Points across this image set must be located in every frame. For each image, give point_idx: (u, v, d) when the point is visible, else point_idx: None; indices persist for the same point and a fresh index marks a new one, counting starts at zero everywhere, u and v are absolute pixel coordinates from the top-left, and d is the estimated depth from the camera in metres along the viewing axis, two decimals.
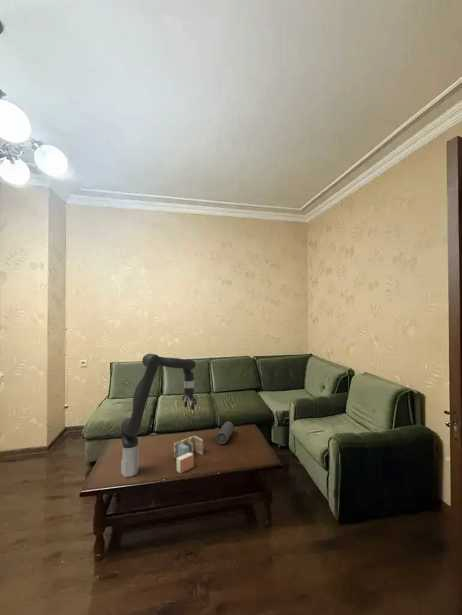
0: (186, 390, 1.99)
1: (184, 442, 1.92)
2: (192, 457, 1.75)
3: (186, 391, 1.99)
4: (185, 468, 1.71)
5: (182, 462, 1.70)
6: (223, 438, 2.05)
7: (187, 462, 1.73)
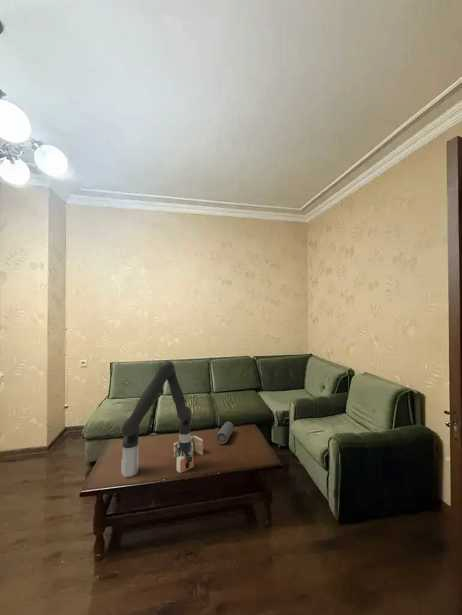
0: (181, 445, 1.71)
1: None
2: (192, 457, 1.75)
3: (181, 446, 1.71)
4: (185, 468, 1.71)
5: (182, 462, 1.70)
6: (223, 438, 2.05)
7: None
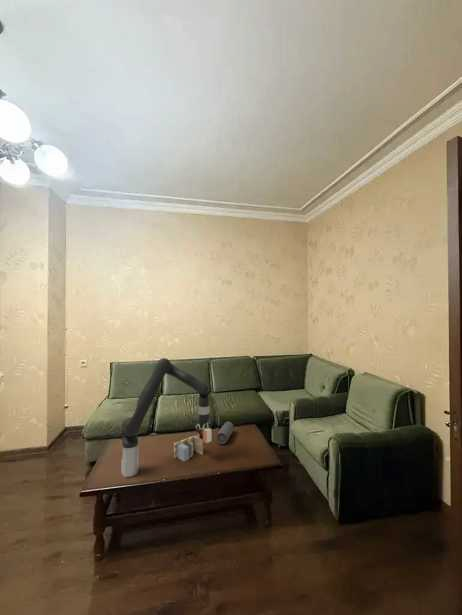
0: None
1: (184, 442, 1.92)
2: (205, 432, 1.80)
3: None
4: None
5: None
6: (223, 438, 2.05)
7: None
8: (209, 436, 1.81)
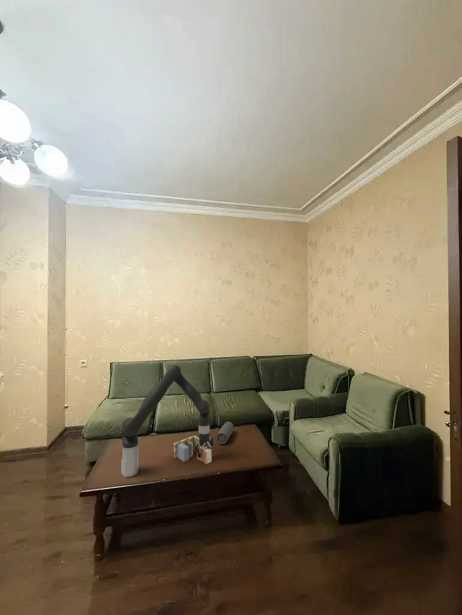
0: None
1: (184, 442, 1.92)
2: (205, 453, 1.80)
3: None
4: (200, 458, 1.84)
5: None
6: (223, 438, 2.05)
7: (201, 454, 1.83)
8: (209, 457, 1.81)
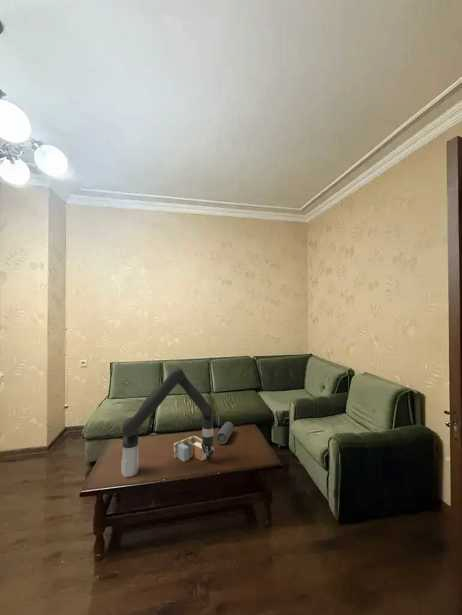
0: (205, 439, 1.78)
1: (184, 442, 1.92)
2: (200, 450, 1.84)
3: (205, 440, 1.78)
4: (195, 455, 1.88)
5: (193, 447, 1.89)
6: (223, 438, 2.05)
7: (197, 451, 1.87)
8: (204, 454, 1.85)
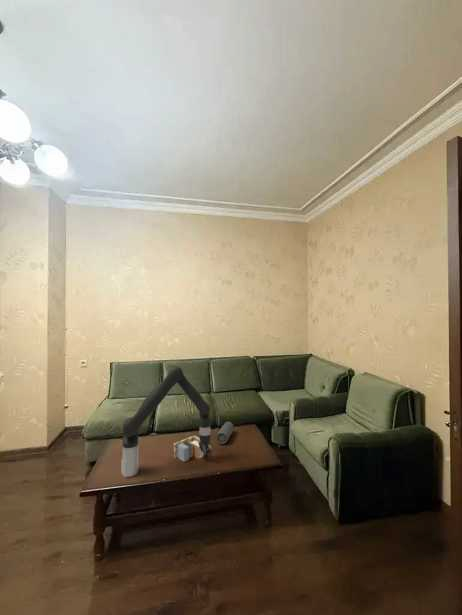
0: (202, 438, 1.81)
1: (184, 442, 1.92)
2: (197, 448, 1.86)
3: (202, 439, 1.81)
4: (193, 453, 1.90)
5: None
6: (223, 438, 2.05)
7: (194, 449, 1.89)
8: (201, 452, 1.87)
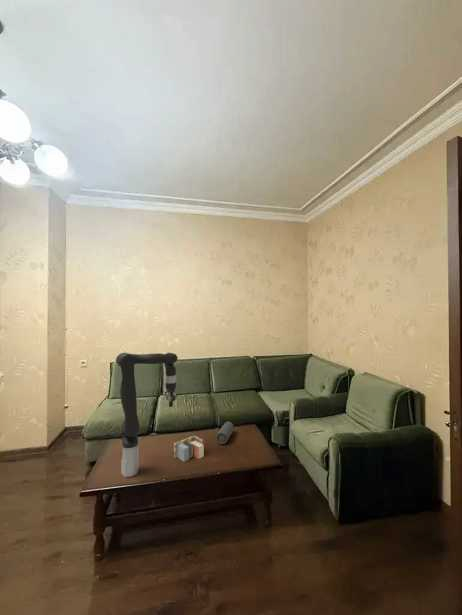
0: (167, 385, 1.86)
1: (184, 442, 1.92)
2: (197, 449, 1.86)
3: (167, 386, 1.86)
4: (193, 453, 1.90)
5: None
6: (223, 438, 2.05)
7: (194, 449, 1.89)
8: (201, 452, 1.88)
